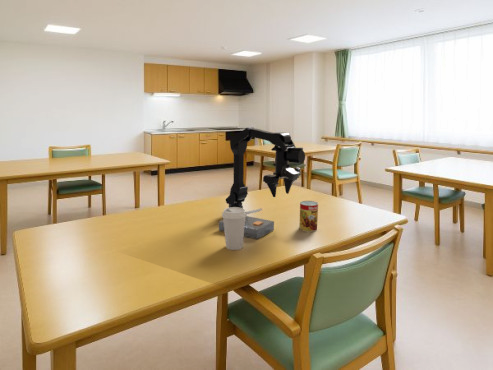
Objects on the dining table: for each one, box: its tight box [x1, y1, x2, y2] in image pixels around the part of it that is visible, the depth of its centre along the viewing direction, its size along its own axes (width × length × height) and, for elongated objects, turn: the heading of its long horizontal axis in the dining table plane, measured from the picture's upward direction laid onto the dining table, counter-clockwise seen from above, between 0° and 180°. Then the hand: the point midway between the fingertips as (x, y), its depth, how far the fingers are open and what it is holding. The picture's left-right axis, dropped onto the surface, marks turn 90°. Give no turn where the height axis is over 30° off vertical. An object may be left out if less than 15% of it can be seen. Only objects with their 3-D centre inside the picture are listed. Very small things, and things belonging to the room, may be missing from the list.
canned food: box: [299, 200, 319, 232], centre depth 164 cm, size 8×8×12 cm
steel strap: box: [245, 207, 263, 215], centre depth 162 cm, size 16×3×1 cm, turn 54°
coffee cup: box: [221, 207, 248, 251], centre depth 142 cm, size 10×10×15 cm
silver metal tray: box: [218, 215, 275, 240], centre depth 162 cm, size 20×14×6 cm
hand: (280, 195), depth 167 cm, fingers open, 9 cm apart
